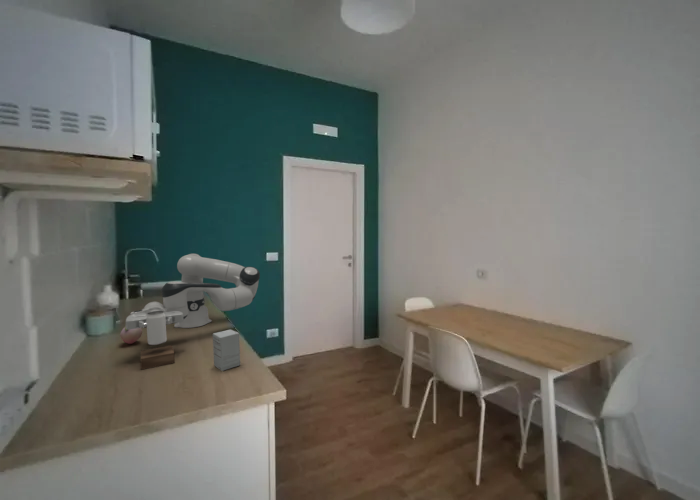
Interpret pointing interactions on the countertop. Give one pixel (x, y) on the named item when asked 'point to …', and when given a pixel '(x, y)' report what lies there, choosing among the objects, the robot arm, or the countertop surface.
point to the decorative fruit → (130, 335)
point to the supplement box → (226, 349)
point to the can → (156, 327)
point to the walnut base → (157, 357)
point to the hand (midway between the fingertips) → (156, 324)
